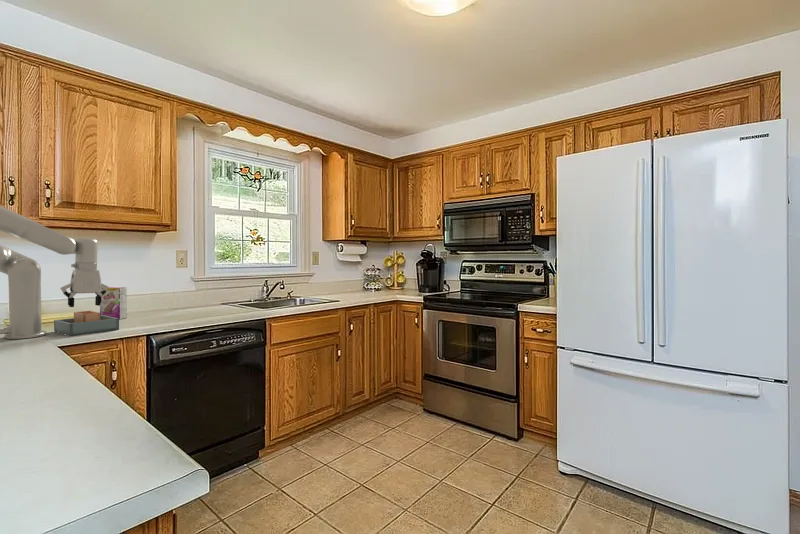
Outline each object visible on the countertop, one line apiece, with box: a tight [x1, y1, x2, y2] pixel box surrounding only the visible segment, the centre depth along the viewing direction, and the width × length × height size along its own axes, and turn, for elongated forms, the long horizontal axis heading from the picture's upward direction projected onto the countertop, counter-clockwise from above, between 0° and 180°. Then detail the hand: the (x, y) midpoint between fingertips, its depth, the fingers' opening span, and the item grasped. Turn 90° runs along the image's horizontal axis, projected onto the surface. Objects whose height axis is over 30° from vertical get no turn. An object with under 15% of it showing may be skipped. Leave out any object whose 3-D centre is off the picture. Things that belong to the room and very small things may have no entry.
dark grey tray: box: [53, 315, 120, 337], centre depth 178 cm, size 18×16×5 cm
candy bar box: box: [99, 285, 128, 321], centre depth 209 cm, size 11×5×16 cm, turn 84°
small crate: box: [73, 310, 100, 323], centre depth 178 cm, size 6×10×7 cm, turn 58°
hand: (84, 306), depth 177 cm, fingers open, 9 cm apart
